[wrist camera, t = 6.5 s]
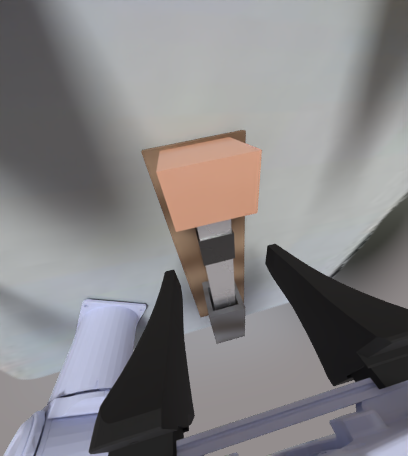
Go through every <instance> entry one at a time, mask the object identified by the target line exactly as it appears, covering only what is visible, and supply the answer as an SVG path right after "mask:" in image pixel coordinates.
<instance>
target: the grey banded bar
mask: <svg viewBox="0 0 408 456" xmlns="http://www.w3.org/2000/svg"><path fill="white" fill-rule="evenodd" d="M195 231H196V235H197V239H198V244H199V248H200V252H201V256H202V260H203V264H204V266H205V268H206V273H207V277H208V282H209V286H210V291H211V295H212V300H213V304H214V308H215V310H219V309H223V308H226V307H230V306H234V305H235V286H234V267H233V259H234V258H235V243H234V232H233V230H232V228H231V219H229V220H225V221H221V222H216V223H212V224H208V225H204V226H199V227H195Z"/></svg>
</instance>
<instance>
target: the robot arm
mask: <svg viewBox="0 0 408 456" xmlns="http://www.w3.org/2000/svg"><path fill="white" fill-rule="evenodd" d="M265 264H266V266H267V268H268V270H269V272H270V274H271V275H272V277H273V278H274V280H275V281H276V283H277V284H278V286H279V287H280V289H281V290H282V292H283V293H284V295H285V296H286V298H287V299H288V301H289V302H290V304H291V305H292V307H293V309H294V310H295V312H296V314H297V316H298V318H299V319H300V321H301V323H302V325H303V327H304V329H305V331H306V333H307V334H308V337H309V339H310V341H311V342H312V345H313V347H314V349H315V351H316V353H317V355H318V357H319V359H320V361H321V364H322V365H323V368H324V370H325V372H326V375H327V377H328V379H329V380H330V382H331V383H332V385H333V386H336V385H339V384H343V383H345V382H349V381H352V380H355V383H351V384H348V385H346V386H342V387H339V388H337V389H333V390H330V391H327V392H324V393H321V394H318V395H315V396H312V397H309V398H306V399H303V400H299V401H297V402H294V403H291V404H287V405H284V406H281V407H278V408H275V409H273V410H269V411H266V412H263V413H260V414H257V415H254V416H251V417H248V418H244V419H241V420H238V421H235V422H232V423H229V424H226V425H223V426H220V427H217V428H214V429H211V430H208V431H205V432H202V433H199V434H196V435H192V436H190V437H187V438H184V435H183V432H187V431H189V425H191V423H192V421H193V418H194V409H193V403H192V396H191V389H190V382H189V375H188V367H187V359H186V351H185V342H184V328H183V299H182V291H181V285H180V283H179V280H178V278H177V275H176V273H175V271H174V270H170V271H166V272H165V274H164V278H163V282H162V286H161V289H160V292H159V295H158V298H157V301H156V304H155V306H154V309H153V312H152V314H151V317H150V319H149V321H148V324H147V326H146V328H145V330H144V332H143V334H142V336H141V338H140V340H139V342H138V344H137V346H136V348H135V350H134V352H133V347H134V340H135V333H136V326H137V324H138V322H139V320H140V318H141V317H142V315H143V313H144V311H145V309H146V306H147V305H146V304H138V303H127V302H115V301H104V300H92V299H86V300H84V301H83V303H82V307H81V311H80V316H79V320H78V325H77V329H76V333H75V337H74V340H73V342H72V345H71V347H70V350H69V352H68V355H67V357H66V360H65V362H64V364H63V367H62V369H61V372H60V374H59V377H58V379H57V382H56V384H55V387H54V389H53V392H52V394H51V397H50V399H49V401H48V404H47V406H45V407H44V408H43V409H42V410H41V411H37V412H35V413H34V414H33V415H32V416H31V417H30V418H29V419H28V420H26V421H25V422H24V423H23V424H22V425H21V427H20V428H19V429H18V431H17V433H16V434H15V436H14V437H13V439H12V441H11V443H10V444H9V446H8V448H7V450H6V452H5V454H4V456H204V455H205V454H208V453H211V452H214V451H217V450H219V449H223V448H226V447H229V446H232V445H234V444H238V443H240V442H244V441H246V440H249V439H252V438H255V437H258V436H261V435H264V434H267V433H270V432H273V431H276V430H279V429H282V428H285V427H288V426H291V425H294V424H297V423H300V422H303V421H306V420H309V419H312V418H315V417H317V416H320V415H323V414H326V413H329V412H333V411H335V410H338V409H341V408H344V407H347V406H350V405H353V404H356V403H357V404H356V412H354V413H350V414H346V415H343V416H340V417H338V418H335V419H333V420H330V425H331V426H332V428H333V430H334V432H335V434H332V435H329V436H326V437H322V438H319V439H316V440H312V441H309V442H306V443H303V444H299V445H296V446H293V447H290V448H287V449H284V450H281V451H278V452H275V453H273V454H270V455H267V456H408V309H406V308H403V307H400V306H397V305H394V304H391V303H388V302H385V301H383V300H380V299H378V298H375V297H372V296H370V295H367V294H365V293H362V292H360V291H358V290H355V289H353V288H351V287H349V286H346V285H344V284H342V283H340V282H338V281H336V280H334V279H332V278H330V277H328V276H326V275H324V274H322V273H320V272H319V271H317V270H315V269H314V268H312V267H310V266H308V265H307V264H305V263H304V262H302V261H300V260H299V259H297V258H296V257H294V256H293V255H291V254H290V253H288V252H287V251H285V250H284V249H282V248H281V247H279V246H278V245H276V244H273V245H269V246H268V247H267V255H266V262H265ZM226 456H238V453H232V454H229V455H226Z"/></svg>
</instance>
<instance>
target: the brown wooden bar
mask: <svg viewBox="0 0 408 456" xmlns="http://www.w3.org/2000/svg"><path fill="white" fill-rule="evenodd" d="M227 137H231V138H233V139H236V140H238V141H241V142H243V143H245V140H246V131H245V130H240V131H235V132H230V133H225V134H220V135H215V136H210V137H205V138H200V139H195V140H190V141H185V142H180V143H175V144H170V145H165V146H160V147H155V148H150V149H145V150H142V151H141V152H142V155H143V158H144V161H145V164H146V166H147V169H148V172H149V175H150V177H151V180H152V183H153V186H154V189H155V191H156V194H157V197H158V200H159V202H160V205H161V208H162V211H163V214H164V216H165V219H166V222H167V225H168V228H169V230H170V233H171V236H172V239H173V241H174V244H175V247H176V250H177V253H178V255H179V258H180V261H181V264H182V267H183V269H184V272H185V275H186V278H187V280H188V283H189V286H190V289H191V292H192V294H193V297H194V300H195V303H196V305H197V308H198V311H199V314H200V317H204V316H207V315H209V318H210V322H211V325H212V329H213V332H214V336H215V339H216V343H221V342H225V341H228V340H232V339H235V338H239V337H242V336H245V306H244V231H245V216H242V217H238V218H233V219H231V228H232V230H233V232H234V243H235V258H234V259H233V267H234V286H235V305H234V306H230V307H226V308H223V309H219V310H215V308H214V304H213V300H212V295H211V291H210V286H209V282H208V277H207V273H206V268H205V266H204V264H203V260H202V256H201V252H200V248H199V244H198V239H197V235H196V231H195V228H191V229H187V230H182V231H178V232H176V231H175V227H174V224H173V221H172V218H171V215H170V212H169V209H168V206H167V203H166V200H165V197H164V194H163V191H162V188H161V185H160V182H159V179H158V176H157V173H156V170H157V164H158V158H159V152H160V151H162V150H167V149H172V148H177V147H182V146H187V145H192V144H197V143H202V142H207V141H212V140H217V139H222V138H227Z"/></svg>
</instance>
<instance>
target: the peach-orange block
mask: <svg viewBox="0 0 408 456" xmlns="http://www.w3.org/2000/svg"><path fill="white" fill-rule="evenodd" d="M261 153H262V150H261V149H258V148H256V147H253V146H251V145H248V144H246V143H243V142H241V141H238V140H236V139H233V138H231V137H227V138H222V139H217V140H212V141H207V142H202V143H197V144H192V145H187V146H182V147H177V148H172V149H167V150H162V151H160V152H159V158H158V164H157V170H156V173H157V176H158V179H159V182H160V185H161V188H162V191H163V194H164V197H165V200H166V203H167V206H168V209H169V212H170V215H171V218H172V221H173V224H174V227H175V231H176V232H178V231H182V230H187V229H191V228H195V227H199V226H204V225H208V224H212V223H216V222H221V221H225V220H229V219H233V218H238V217H242V216H246V215H250V214H254V213H257V211H258V196H259V182H260V167H261Z"/></svg>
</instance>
